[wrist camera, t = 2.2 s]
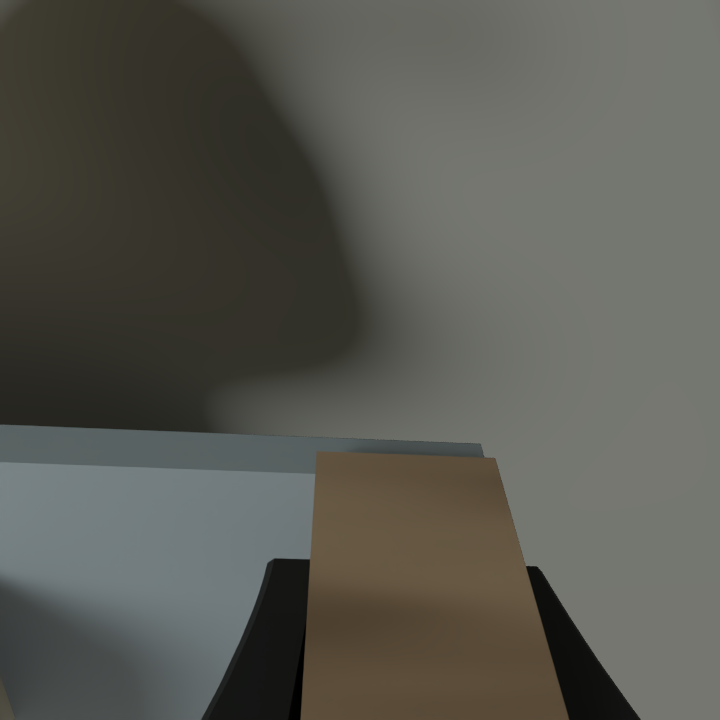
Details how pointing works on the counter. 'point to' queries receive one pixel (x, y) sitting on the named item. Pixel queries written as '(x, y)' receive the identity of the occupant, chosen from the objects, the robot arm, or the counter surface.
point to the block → (5, 705)
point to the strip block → (262, 575)
